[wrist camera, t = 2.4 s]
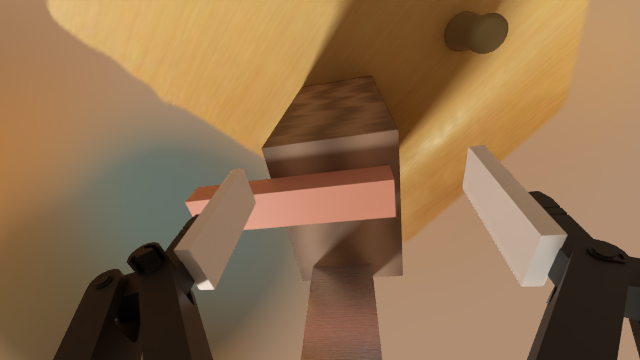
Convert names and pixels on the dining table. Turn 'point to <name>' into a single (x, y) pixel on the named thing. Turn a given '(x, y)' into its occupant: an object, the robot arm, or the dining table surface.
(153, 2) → the dining table surface
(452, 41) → the cork
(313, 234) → the wooden block pedestal
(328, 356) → the bookend
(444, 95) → the dining table surface
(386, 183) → the terracotta clay brick
